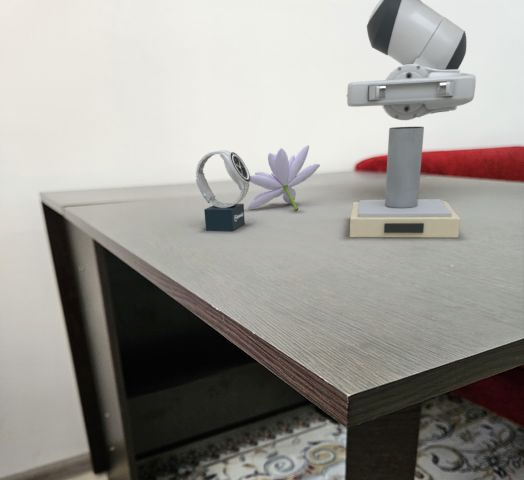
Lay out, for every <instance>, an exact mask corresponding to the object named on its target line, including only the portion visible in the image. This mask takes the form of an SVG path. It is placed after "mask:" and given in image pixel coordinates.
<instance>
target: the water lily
mask: <svg viewBox="0 0 524 480" xmlns="http://www.w3.org/2000/svg"><path fill="white" fill-rule="evenodd" d="M309 150H310V144H308V145H306V146H304V147H302V148H301V150H300V151H299V152H298V153H297V154H296V156H295V154H293V155H292V156H290V158H289V157H288V154H287V152H286V151H285V150H284V149H283V148H280V149H279V150H278V151H277V153H272V152H269V153H268V156H267V162H268V163H267V164H268V166H269V168H270V171H271V172H272V173H268V172H264V171H256V172H255V173H254V175H250V182H249V183H252V184H254V185H255V186H258V187H261V188H262V189H265V190H269V191H264V192H261V193H259V194H258V195H256V196H255V197H254V199H253V201H252V202H251V203H249V205H248V207H247V210H253V209H255V208H258V207H261V206H264V205H266V204H267V203H268V202H271V201H272V200H273V199H276V198H279V197H281V196H282V199H283V201H284V202H285V203H286V204H287V203H288V204H291V205H292V208H293V210H294V211H295V212H296V211H298V210H299V207H298V205H297V203H296V201H295V200H296V196H297V193H296V190H295V189H294V188H293V187H296V186H298V185H300V184H302V183H303V182H305V181H306V180H308V179H309V178H310V177H311V176H313V174H315V172H316V171H318V169H319V168H320V166H321V165H320V164H319V163H314V164H310V165H309V166H308V165H307V167H305V168H303V166H304V164H305V162H306V160H307V157H308V153H309ZM302 168H303V169H302Z"/></svg>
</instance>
